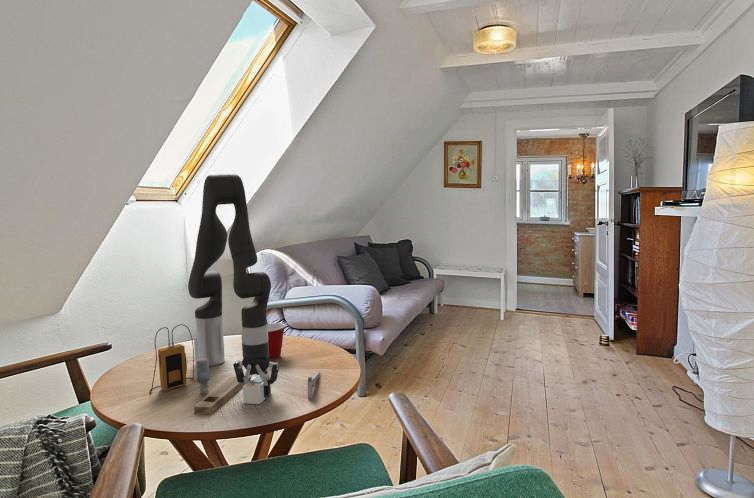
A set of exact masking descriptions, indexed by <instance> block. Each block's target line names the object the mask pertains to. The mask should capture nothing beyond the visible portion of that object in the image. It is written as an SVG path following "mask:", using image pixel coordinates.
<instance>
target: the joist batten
mask: <svg viewBox="0 0 754 498" xmlns="http://www.w3.org/2000/svg"><path fill="white" fill-rule="evenodd" d="M243 386H244V384H243V383H242V382H238V381H237V377H236V376H229V378H228V379H226V380H225V381H224V382H222V383H221V384H220V385H219V386H217V387H216V388H215V389H213V391H211V392H210V393H208V394H206V396H205V397H204V398H202V399H201V400H200V401H199V402H197V403H196V404H195V405H194V406H193V413H194V414H201V415H203V414H204V415H212V414H213V413H214V412H216V410H218V409H219V408H220V407H221V406H222V405H223V404H224V403H226V402H227V401H228V400H230V398H231V397H232V396H233V395H235V394H236V393H237V392H238V391H240V389H241V388H243Z"/></svg>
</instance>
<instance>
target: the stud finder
mask: <svg viewBox="0 0 754 498" xmlns="http://www.w3.org/2000/svg"><path fill="white" fill-rule="evenodd" d="M271 385H272V384H270V387H271ZM271 388H272V387H271ZM271 394H272V392H271V393H270V395H271ZM242 395H243V398H242V399H243V404H253V405H255V404H256V405H260V404H262V403H264V401H265V400H266V399H267V398H264V383H263V380H262V379H261V378H260V376H253V377H252V378H251V380H250V381H249V382H248V383H246V384H245V385H244V386H242Z"/></svg>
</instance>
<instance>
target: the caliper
mask: <svg viewBox="0 0 754 498" xmlns="http://www.w3.org/2000/svg"><path fill="white" fill-rule="evenodd" d="M319 375H321V372H320V371H316V372H315V373H314V375H313V376H309V377H308V378H307V399H309V400H312V399H311V398H312V397H313V394H314V393H313V392H314V391H313V390H314V388H315V384H316V383H317V381H318V380H319V378H320V376H319Z"/></svg>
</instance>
